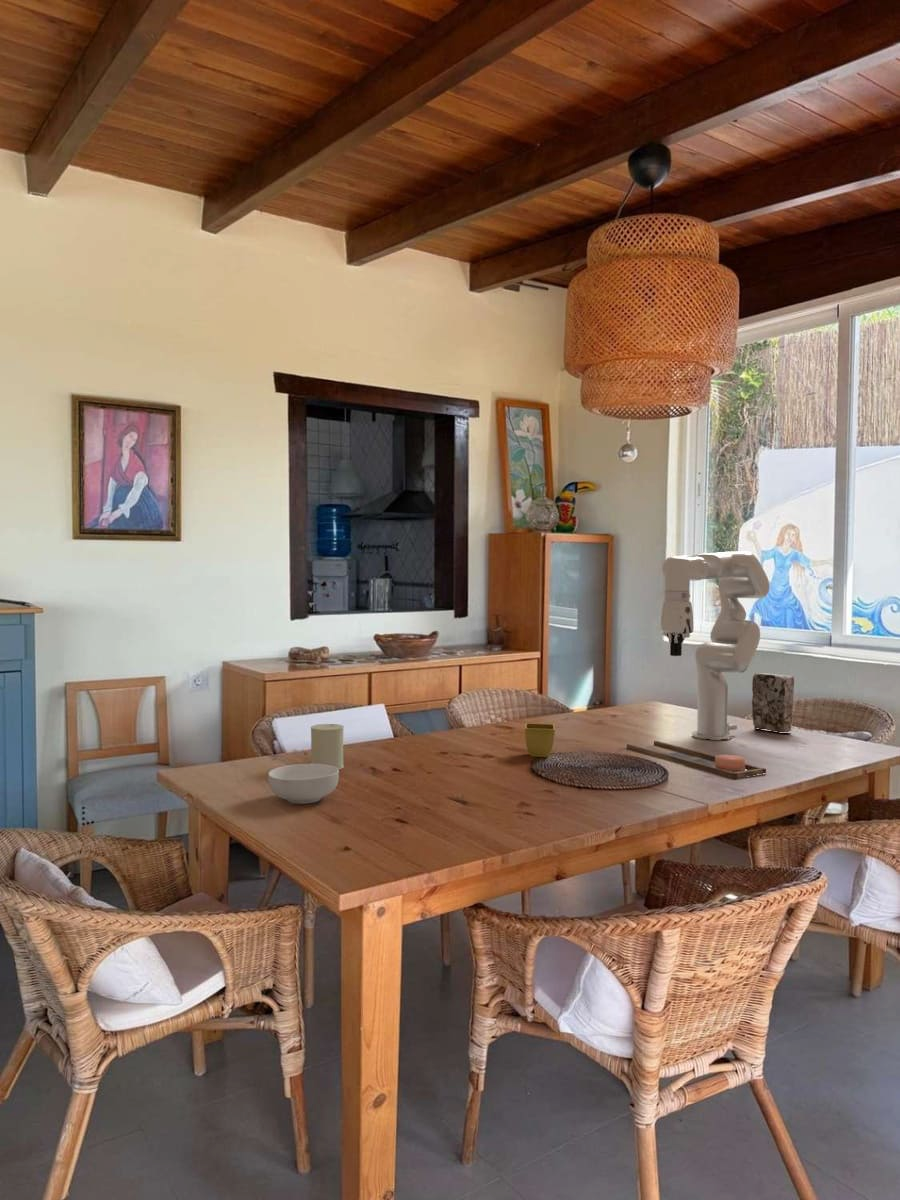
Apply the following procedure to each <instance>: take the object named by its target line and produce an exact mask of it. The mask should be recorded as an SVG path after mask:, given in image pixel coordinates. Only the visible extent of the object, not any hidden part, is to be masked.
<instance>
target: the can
mask: <svg viewBox="0 0 900 1200" xmlns="http://www.w3.org/2000/svg"><path fill="white" fill-rule="evenodd" d="M344 729H345V727H344V725H343V724H337V723H321V724H314V725H311V726H310V753H311V754H310V755H311V756H310V764H324V765H330V766H334V767H336V768H338V770H339V771H340V769H341V770H342V768H343V769H344Z"/></svg>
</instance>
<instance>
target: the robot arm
mask: <svg viewBox="0 0 900 1200" xmlns="http://www.w3.org/2000/svg"><path fill="white" fill-rule="evenodd" d="M662 575H664V598H663V603H662V609H661V615H660V617H661V619H660V621H661V622H660V626H661V631H662V635H663V636H665V637H666V638H667V639H668V642H669V644H670V645H669V646H670V653H669V656H671V657H680V656H682V651H683V650H682V645H683V643H684V640H685V639H688V638H691V635H690V634H692V633H693V632H694V613H693V611H694V610H693V605H692V601H690V598H691V594H690V586H691V585H690V582H691V581H693V582H694V581H696V582H697V581H701V580H715V579H719V580H718V581H719V582H718V593H719V599H720V605H721V607H720V612H719V614H718V616H717V618H716V620H715V622H714V624H713V627H712V628H711V632H710V637H709V638H710V641H709V642H703V643H701V644H700V645H698V647H697V648H696V649H695V652H694V653H695V655H694V656H695V657H694V658H695V663H696V669H697V670H696V671H697V722H696V724H697V725H696V729H697V730H693V731H692V733H691V734H692V737H693V736H694V738H695V739H700V740H706V739H710V740H709V741H722V740H721V739H728V738H731V737H732V734H731V733H730V731H735V730H737V728H738V726H737V724H736V723H732V724H730V723H728V693H729V692H728V691H729V690H728V689H729V686H728V682H727V679H726V678H725V676H724V675H723V673H731V674H742V673H745V672H746V671H747V670H748V668H749V666H750V664H751V662H752V660H753V657H754V655H755V653H756V651H757V649H758V646H759V643H760V640H761V629H760V626H759V625H758V624H757V623H756V622H755V621H753V620H746V618H747V612H746V610H745V608H744V606H743V604H741V602H740V601H739V599H762V598H765V597H766V596H767V595H768V593H769V592H770V580H769V578H768V576H767V574H766V572H765V570H764V568H763V566H762V564H761V562H760V561H759V559H758V558H757V556H756V555H755V554H753V552H750V551H722V552H710V553H699V554H697V553H696V554H692V555H690V554H689V555H677V556H669V557H667V558H666V559H665V560H664V562H663V563H662ZM731 739H732V738H731ZM728 740H729V739H728Z"/></svg>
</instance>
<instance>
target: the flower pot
mask: <svg viewBox="0 0 900 1200" xmlns="http://www.w3.org/2000/svg"><path fill="white" fill-rule="evenodd" d="M524 725H525V726H524V730H525V733H524V734H525V745H526V749H527V752H528V754H529V756H530V757H531V758H534V757H535V758H548V757H549V756H550V754H551V752H552V749H553V747H554V741H555V740H554V739H555V733H556V728H555V727H556V726H555V724H554V723H533V722H532V723H529V722H528V723H525V724H524Z"/></svg>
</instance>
